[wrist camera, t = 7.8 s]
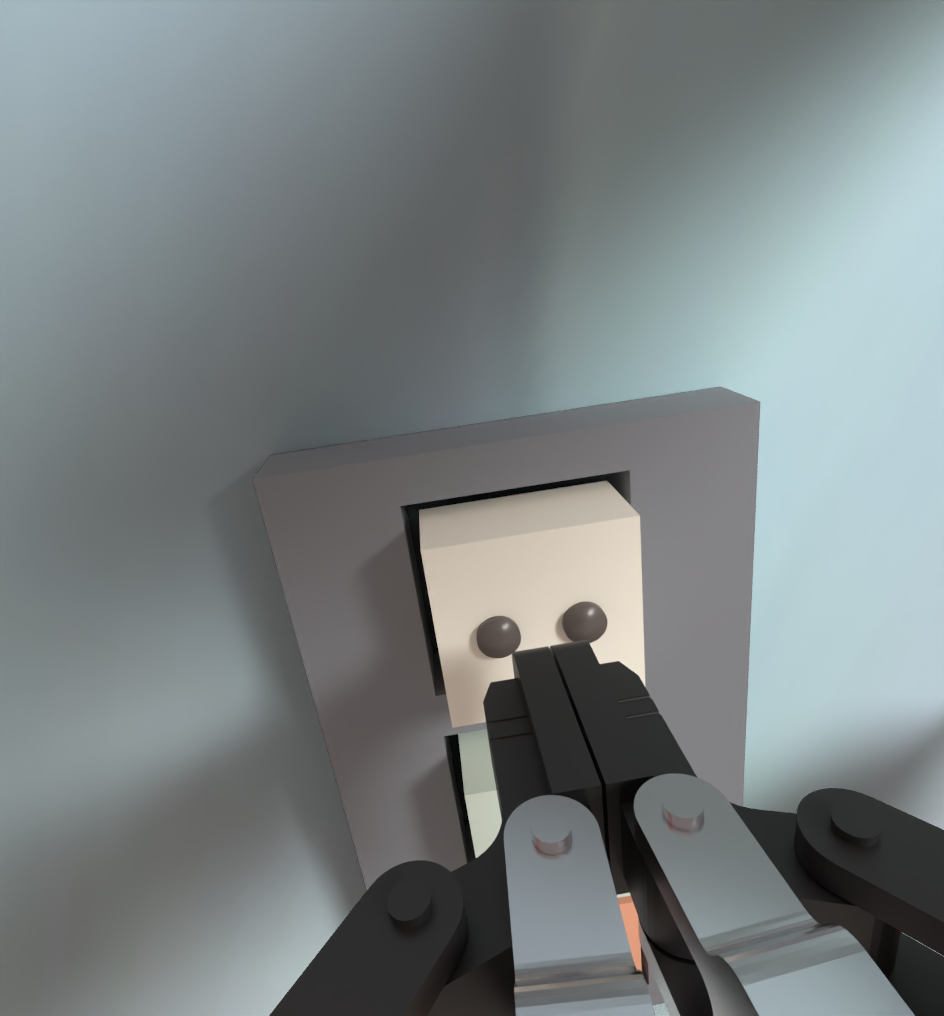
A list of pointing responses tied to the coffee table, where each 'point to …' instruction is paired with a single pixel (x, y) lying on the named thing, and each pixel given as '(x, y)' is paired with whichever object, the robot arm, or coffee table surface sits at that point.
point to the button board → (401, 613)
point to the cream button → (531, 584)
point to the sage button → (481, 790)
